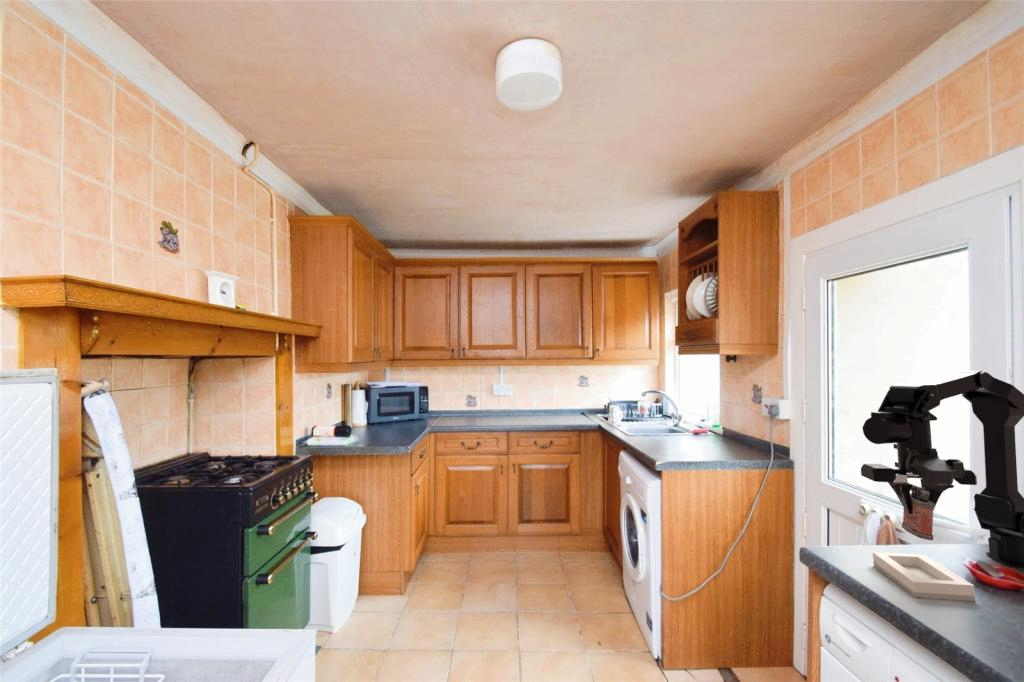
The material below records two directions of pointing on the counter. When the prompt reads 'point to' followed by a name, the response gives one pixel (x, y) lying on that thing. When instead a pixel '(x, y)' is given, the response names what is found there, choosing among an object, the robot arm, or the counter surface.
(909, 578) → the tray
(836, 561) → the counter surface
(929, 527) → the lighter
